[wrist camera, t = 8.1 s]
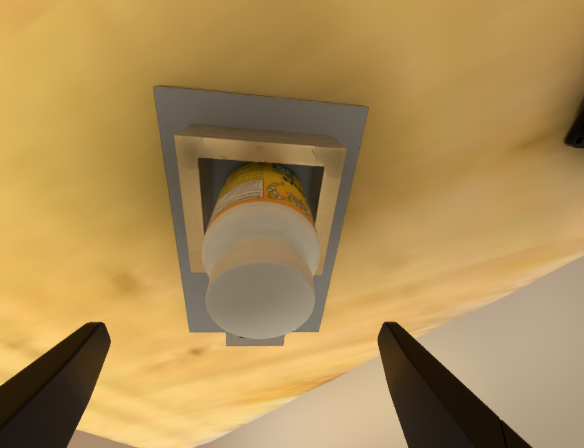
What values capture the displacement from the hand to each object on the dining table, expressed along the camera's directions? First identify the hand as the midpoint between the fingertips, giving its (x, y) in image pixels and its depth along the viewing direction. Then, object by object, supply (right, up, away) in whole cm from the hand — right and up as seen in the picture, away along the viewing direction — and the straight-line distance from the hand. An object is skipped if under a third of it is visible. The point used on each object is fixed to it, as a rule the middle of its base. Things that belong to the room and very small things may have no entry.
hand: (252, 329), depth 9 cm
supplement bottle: (-1, +5, +9) cm, 11 cm away
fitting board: (-1, +2, +12) cm, 12 cm away
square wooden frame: (-1, +6, +10) cm, 12 cm away
